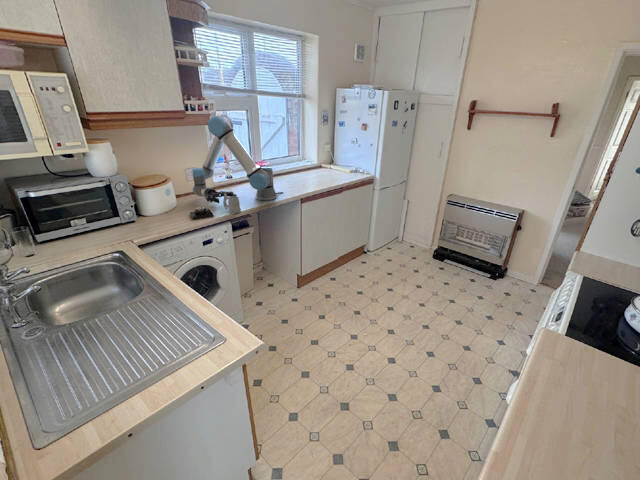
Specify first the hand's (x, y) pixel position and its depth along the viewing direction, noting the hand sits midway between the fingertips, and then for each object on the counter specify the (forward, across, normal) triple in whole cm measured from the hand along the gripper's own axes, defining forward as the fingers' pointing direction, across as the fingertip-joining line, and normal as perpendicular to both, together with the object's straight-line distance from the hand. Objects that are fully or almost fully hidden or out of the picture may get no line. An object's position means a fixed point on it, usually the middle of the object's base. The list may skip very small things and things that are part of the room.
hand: (227, 198), depth 212 cm
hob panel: (-2, +19, -8) cm, 20 cm away
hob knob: (-2, +19, -4) cm, 19 cm away
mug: (+5, +1, -8) cm, 9 cm away
